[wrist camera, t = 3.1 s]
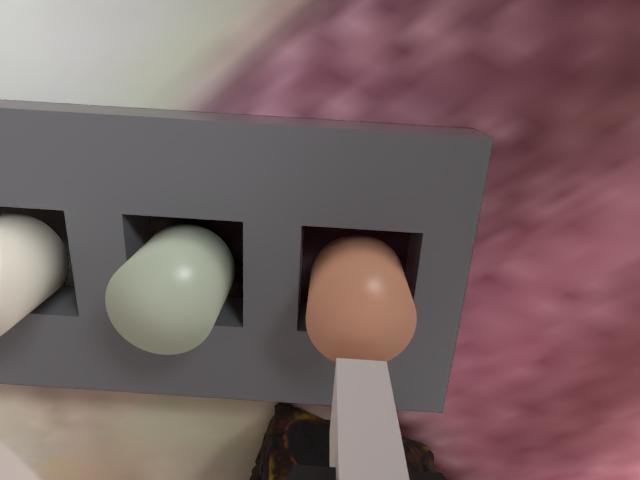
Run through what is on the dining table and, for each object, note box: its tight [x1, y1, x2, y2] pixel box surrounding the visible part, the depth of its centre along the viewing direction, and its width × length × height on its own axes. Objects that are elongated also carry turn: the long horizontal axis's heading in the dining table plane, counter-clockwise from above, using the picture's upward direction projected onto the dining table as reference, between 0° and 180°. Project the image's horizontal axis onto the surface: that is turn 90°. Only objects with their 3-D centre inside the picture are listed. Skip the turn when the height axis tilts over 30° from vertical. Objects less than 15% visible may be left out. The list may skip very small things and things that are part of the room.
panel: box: [0, 100, 494, 413], centre depth 23 cm, size 14×26×3 cm, turn 87°
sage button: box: [105, 224, 235, 355], centre depth 21 cm, size 4×4×4 cm
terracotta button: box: [306, 235, 417, 362], centre depth 20 cm, size 4×4×4 cm
